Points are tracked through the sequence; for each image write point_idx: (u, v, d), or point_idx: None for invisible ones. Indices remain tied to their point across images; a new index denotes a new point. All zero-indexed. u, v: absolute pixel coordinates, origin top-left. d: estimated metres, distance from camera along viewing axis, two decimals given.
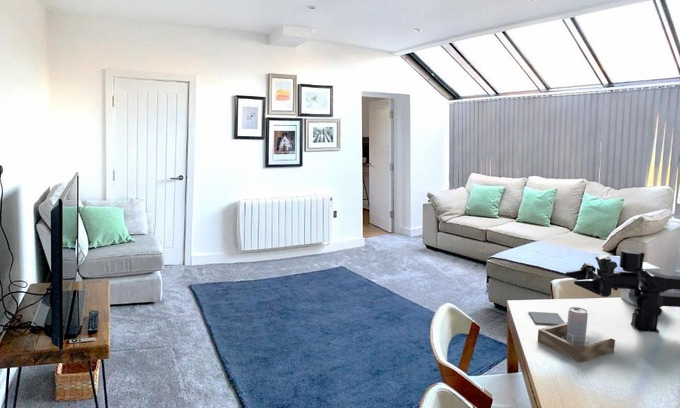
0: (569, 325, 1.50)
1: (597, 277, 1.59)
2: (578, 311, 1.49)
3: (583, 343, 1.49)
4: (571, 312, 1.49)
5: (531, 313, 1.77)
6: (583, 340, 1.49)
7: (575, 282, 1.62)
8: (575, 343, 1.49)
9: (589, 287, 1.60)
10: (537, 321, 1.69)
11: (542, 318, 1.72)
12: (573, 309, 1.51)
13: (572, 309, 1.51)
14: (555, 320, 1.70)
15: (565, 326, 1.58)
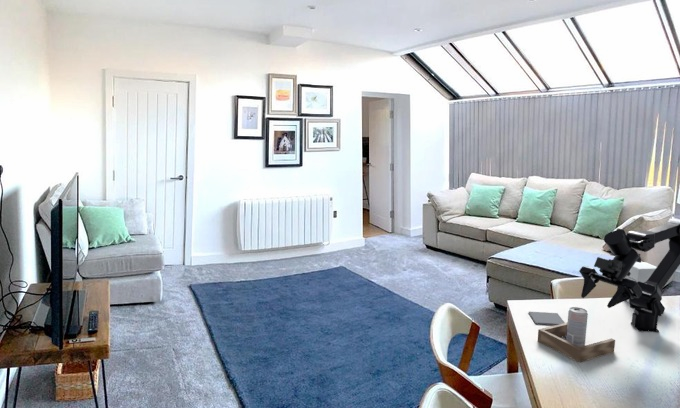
0: (569, 325, 1.50)
1: (621, 287, 1.47)
2: (578, 311, 1.49)
3: (583, 343, 1.49)
4: (571, 312, 1.49)
5: (531, 313, 1.77)
6: (583, 340, 1.49)
7: (609, 306, 1.49)
8: (575, 343, 1.49)
9: (621, 299, 1.49)
10: (537, 321, 1.69)
11: (542, 318, 1.72)
12: (573, 309, 1.51)
13: (572, 309, 1.51)
14: (555, 320, 1.70)
15: (565, 326, 1.58)
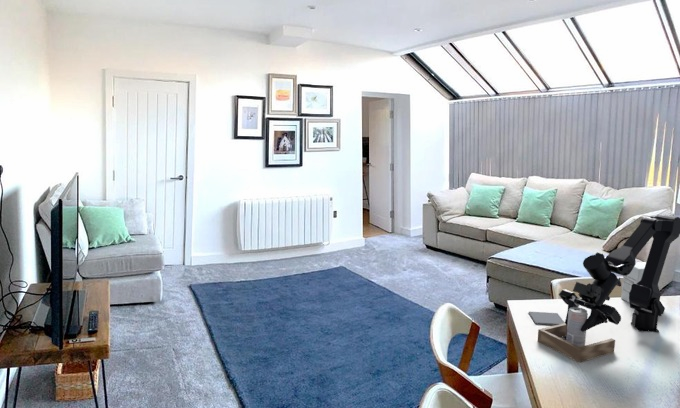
0: (569, 325, 1.50)
1: (594, 311, 1.46)
2: (578, 311, 1.49)
3: (583, 343, 1.49)
4: (571, 312, 1.49)
5: (531, 313, 1.77)
6: (583, 340, 1.49)
7: (582, 330, 1.48)
8: (575, 343, 1.49)
9: (595, 323, 1.48)
10: (537, 321, 1.69)
11: (542, 318, 1.72)
12: (573, 309, 1.51)
13: (572, 309, 1.51)
14: (555, 320, 1.70)
15: (565, 326, 1.58)
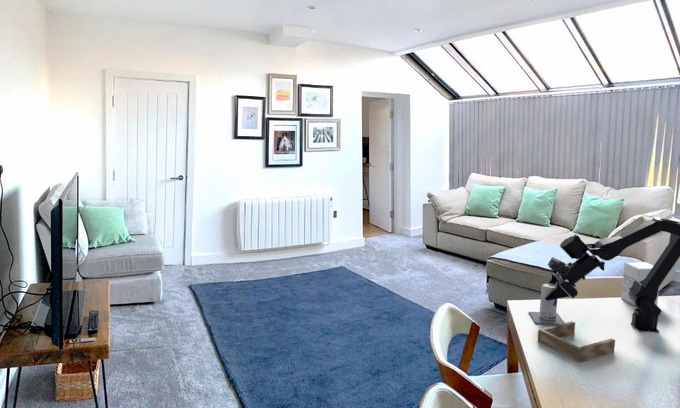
0: None
1: (556, 284, 1.65)
2: (549, 286, 1.70)
3: (549, 315, 1.70)
4: (542, 285, 1.72)
5: (531, 313, 1.77)
6: (549, 312, 1.70)
7: (547, 299, 1.68)
8: (542, 313, 1.71)
9: (559, 295, 1.66)
10: (537, 321, 1.69)
11: None
12: (548, 284, 1.72)
13: (547, 284, 1.72)
14: (555, 320, 1.70)
15: (565, 326, 1.58)
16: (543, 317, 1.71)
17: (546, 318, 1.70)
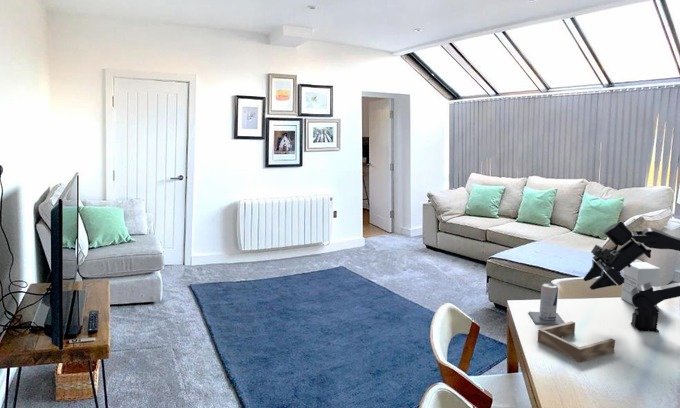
0: None
1: (602, 272, 1.61)
2: (549, 286, 1.70)
3: (549, 315, 1.70)
4: (542, 285, 1.72)
5: (531, 313, 1.77)
6: (549, 312, 1.70)
7: (591, 287, 1.64)
8: (542, 313, 1.71)
9: (604, 284, 1.62)
10: (537, 321, 1.69)
11: None
12: (548, 284, 1.72)
13: (547, 284, 1.72)
14: (555, 320, 1.70)
15: (565, 326, 1.58)
16: (543, 317, 1.71)
17: (546, 318, 1.70)
